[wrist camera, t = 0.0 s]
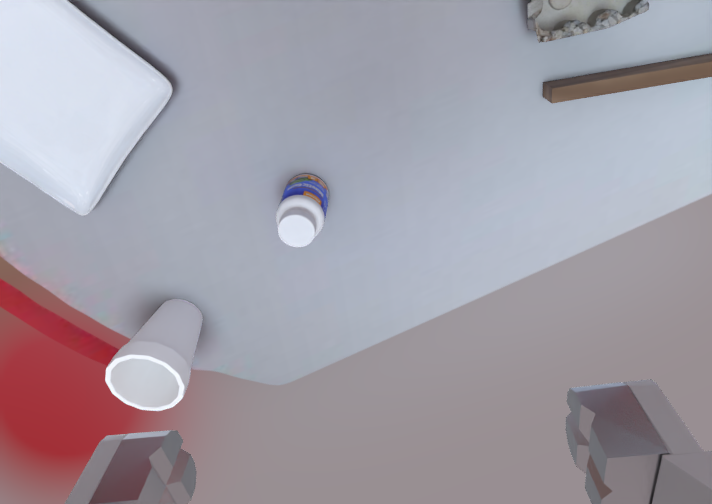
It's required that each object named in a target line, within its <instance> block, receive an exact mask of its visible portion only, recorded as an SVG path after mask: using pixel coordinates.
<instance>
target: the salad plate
mask: <svg viewBox="0 0 712 504" xmlns="http://www.w3.org/2000/svg"><path fill="white" fill-rule="evenodd" d="M172 92H173V88H172V85H171V83H170V81H169V80H168V79H167V78H166V77H165V76H164V75H163V74H161V73H160V72H159V71H158V70H157V69H155V68H154V67H153V66H152V65H150V64H149V63H148V62H147V61H145V60H144V59H143V58H141V57H140V56H138V55H137V54H136V53H134V52H133V51H132V50H130V49H129V48H128V47H127V46H125V45H124V44H123V43H121V42H120V41H119V40H117V39H116V38H115V37H113V36H112V35H111V34H110V33H108V32H107V31H106V30H105V29H103V28H102V27H101V26H99V25H98V24H97V23H96V22H94V21H93V20H92V19H91V18H89V17H88V16H87V15H85V14H84V13H83V12H82V11H81V10H79V9H78V8H77V7H76V6H74V5H73V4H72V3H71V2H69V1H68V0H0V163H1V164H3V165H5V166H6V167H8V168H9V169H11V170H12V171H14V172H15V173H17V174H18V175H20V176H21V177H23V178H24V179H26V180H27V181H29V182H30V183H32V184H33V185H35V186H36V187H38V188H39V189H41V190H42V191H43V192H45V193H46V194H48V195H49V196H51V197H52V198H54V199H55V200H57V201H58V202H60V203H61V204H63V205H64V206H66V207H67V208H69V209H71V210H72V211H74V212H76V213H77V214H79V215H83V216H85V215H87V214H89V213H90V212H91V211H92V210H93V208H94V207H95V205H96V204H97V203H98V201H99V200H100V198H101V197H102V195H103V193H104V192H105V190H106V188H107V187H108V185H109V183H110V182H111V180H112V179H113V177H114V176H115V174H116V172H117V171H118V169H119V168H120V166H121V165H122V163H123V162H124V160H125V159H126V157H127V156H128V154H129V153H130V152H131V150H132V149H133V147H134V146H135V145H136V143H137V142H138V141H139V139H140V138H141V136H142V135H143V134H144V133H145V131H146V130H147V129H148V127H149V126H150V125H151V124H152V122H153V121H154V120H155V118H156V117H157V116H158V115H159V113H160V112H161V111H162V109H163V108H164V107H165V105H166V104H167V102H168V101H169V99H170V97H171V95H172Z"/></svg>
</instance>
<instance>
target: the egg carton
mask: <svg viewBox="0 0 712 504" xmlns="http://www.w3.org/2000/svg"><path fill="white" fill-rule="evenodd" d="M527 8H528V18H529V19H528V21H527V23H528V30H532V31H536V34H537V38H538V42H539V43H540V42H541V41H542V42H547V41H552V40H556V39H561V38H566V37H570V36H575V35H579V34H584V33H588V32H592V31H598V30H602V29H606V28H609V27H612V26H614V25H616V24H619V23H621V22H623V21H625V20H627V19H629V18H631V17H634V16H636V15H638V14H641V13H644V12H646V11H647V10H648V9H649V3H648V0H531V2H529V3H528V6H527Z"/></svg>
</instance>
